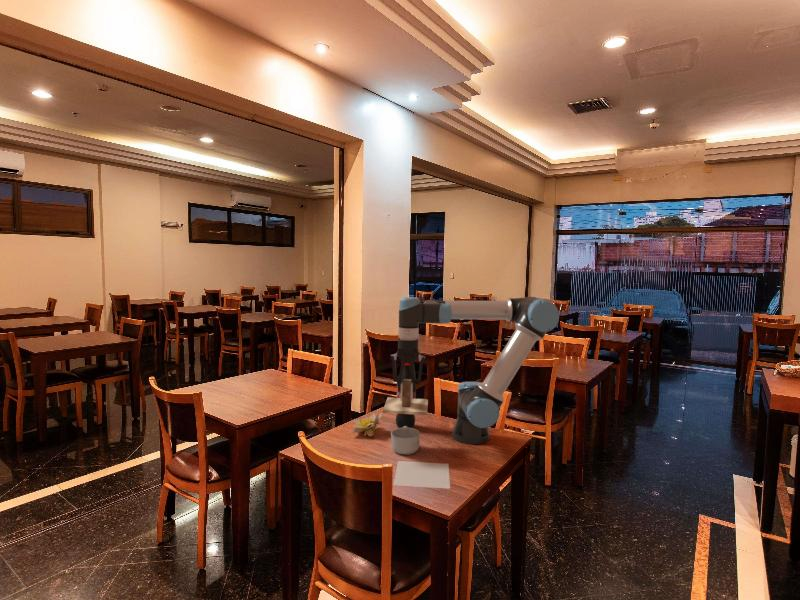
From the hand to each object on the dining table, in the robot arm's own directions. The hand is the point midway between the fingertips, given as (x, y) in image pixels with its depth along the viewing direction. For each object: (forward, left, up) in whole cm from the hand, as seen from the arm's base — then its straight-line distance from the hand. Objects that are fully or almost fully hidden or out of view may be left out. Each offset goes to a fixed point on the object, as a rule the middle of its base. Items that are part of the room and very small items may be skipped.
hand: (406, 400), depth 173 cm
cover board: (0, 0, -3) cm, 3 cm away
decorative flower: (+17, -17, -20) cm, 31 cm away
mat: (-7, +20, -20) cm, 29 cm away
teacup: (0, 0, -20) cm, 20 cm away
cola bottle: (+2, -25, -20) cm, 32 cm away
